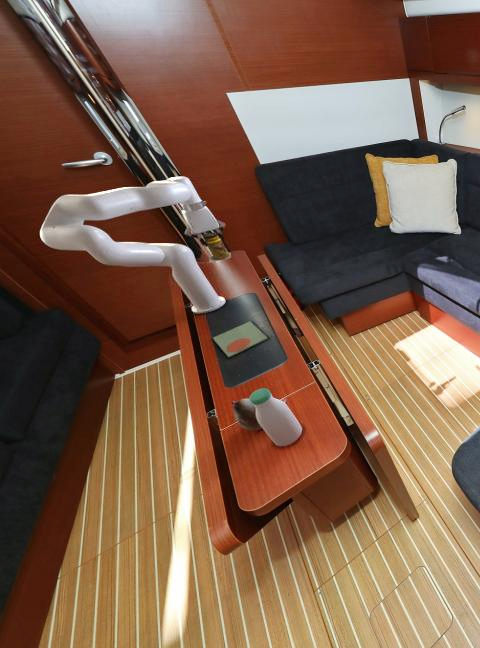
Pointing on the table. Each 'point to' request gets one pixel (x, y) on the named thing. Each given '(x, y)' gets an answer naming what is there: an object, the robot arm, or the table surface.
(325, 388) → the table surface
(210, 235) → the condiment
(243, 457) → the table surface
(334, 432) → the table surface
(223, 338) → the placemat
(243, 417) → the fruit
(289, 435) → the milk bottle
